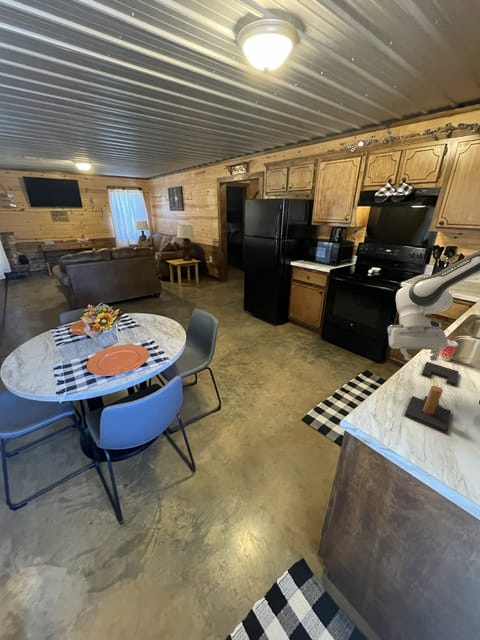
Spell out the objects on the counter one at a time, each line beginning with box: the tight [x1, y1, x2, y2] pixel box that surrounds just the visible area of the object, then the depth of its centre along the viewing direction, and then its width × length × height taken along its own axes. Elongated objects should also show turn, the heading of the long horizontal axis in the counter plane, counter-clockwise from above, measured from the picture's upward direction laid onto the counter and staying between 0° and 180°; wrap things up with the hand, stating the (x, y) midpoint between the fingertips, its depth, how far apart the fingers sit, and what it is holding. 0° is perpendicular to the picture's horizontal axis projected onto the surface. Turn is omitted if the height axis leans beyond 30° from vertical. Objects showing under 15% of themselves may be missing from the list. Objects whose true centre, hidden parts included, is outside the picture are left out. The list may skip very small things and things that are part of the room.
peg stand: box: [404, 385, 452, 434], centre depth 93 cm, size 16×12×12 cm
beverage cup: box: [438, 332, 459, 362], centre depth 126 cm, size 6×6×14 cm
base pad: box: [421, 361, 459, 387], centre depth 116 cm, size 12×12×2 cm
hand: (421, 360), depth 97 cm, fingers open, 8 cm apart
